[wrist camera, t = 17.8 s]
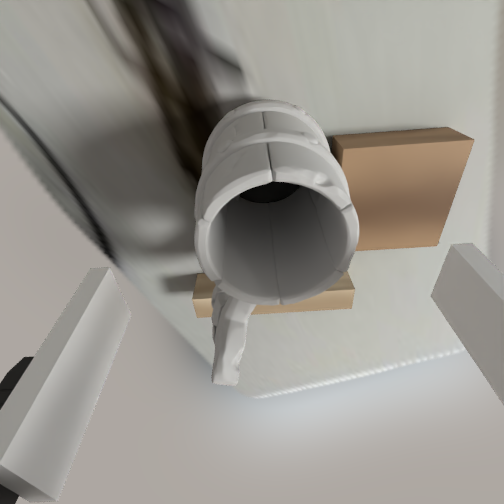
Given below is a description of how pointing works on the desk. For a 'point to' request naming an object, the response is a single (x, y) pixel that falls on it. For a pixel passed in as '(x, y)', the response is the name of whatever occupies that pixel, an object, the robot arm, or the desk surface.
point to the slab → (402, 183)
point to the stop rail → (327, 300)
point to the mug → (268, 220)
